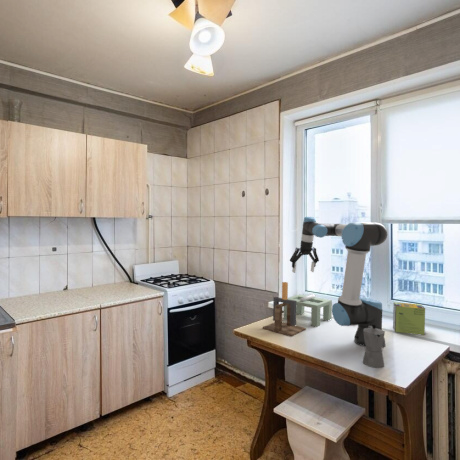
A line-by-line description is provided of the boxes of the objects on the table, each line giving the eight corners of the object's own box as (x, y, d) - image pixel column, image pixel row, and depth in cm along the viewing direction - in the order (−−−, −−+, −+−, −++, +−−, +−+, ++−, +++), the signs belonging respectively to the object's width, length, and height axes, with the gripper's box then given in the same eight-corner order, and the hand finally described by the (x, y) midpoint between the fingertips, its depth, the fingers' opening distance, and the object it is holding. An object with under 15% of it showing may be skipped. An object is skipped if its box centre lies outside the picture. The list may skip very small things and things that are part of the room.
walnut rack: (291, 336, 184) (292, 308, 184) (262, 328, 197) (263, 302, 197) (306, 329, 196) (306, 303, 195) (277, 322, 209) (278, 297, 209)
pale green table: (317, 326, 202) (317, 301, 202) (283, 318, 218) (284, 295, 218) (331, 319, 217) (331, 296, 216) (299, 312, 233) (299, 291, 232)
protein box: (425, 335, 189) (425, 308, 188) (395, 332, 194) (395, 305, 193) (420, 329, 199) (421, 304, 198) (392, 326, 204) (393, 301, 203)
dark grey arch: (293, 325, 191) (294, 284, 190) (273, 320, 200) (273, 281, 200) (296, 324, 192) (296, 283, 192) (275, 319, 202) (276, 280, 202)
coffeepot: (389, 370, 143) (390, 329, 142) (367, 369, 144) (368, 328, 143) (377, 356, 158) (378, 319, 158) (357, 355, 159) (357, 318, 159)
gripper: (320, 239, 220) (316, 269, 224) (286, 239, 212) (283, 270, 217) (327, 242, 213) (322, 273, 217) (292, 242, 205) (288, 274, 210)
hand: (302, 271), depth 217 cm, fingers open, 13 cm apart
